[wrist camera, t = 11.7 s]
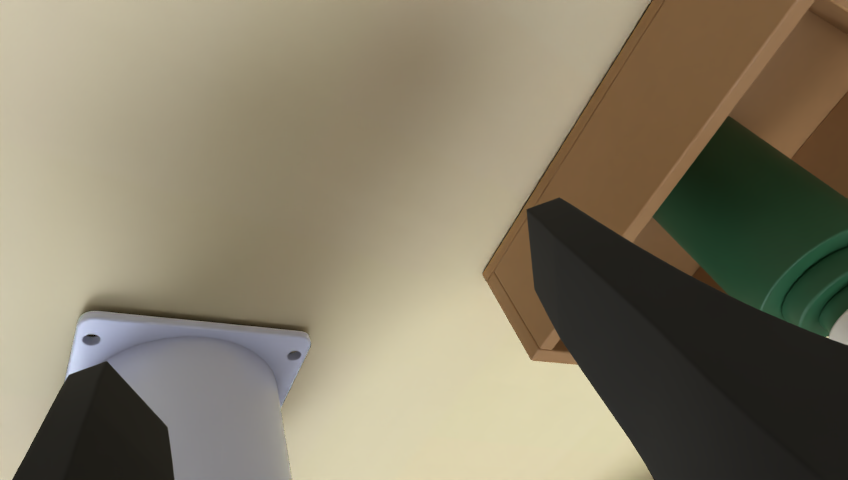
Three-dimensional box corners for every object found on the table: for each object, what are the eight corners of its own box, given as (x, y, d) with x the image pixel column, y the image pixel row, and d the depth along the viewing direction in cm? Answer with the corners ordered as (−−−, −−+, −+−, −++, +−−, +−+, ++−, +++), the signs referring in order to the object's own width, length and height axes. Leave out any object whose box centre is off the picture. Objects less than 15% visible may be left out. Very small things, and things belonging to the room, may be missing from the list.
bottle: (689, 222, 26) (872, 398, 19) (612, 201, 24) (789, 391, 17) (762, 129, 24) (998, 291, 17) (686, 97, 22) (921, 267, 15)
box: (664, 305, 31) (727, 379, 27) (481, 274, 25) (530, 361, 22) (886, 39, 24) (1007, 92, 20) (702, -83, 18) (825, -39, 15)
